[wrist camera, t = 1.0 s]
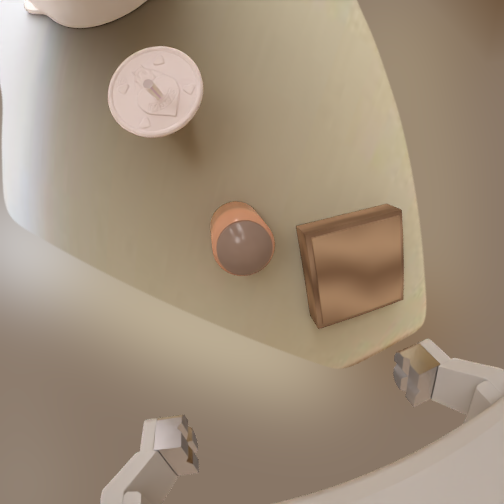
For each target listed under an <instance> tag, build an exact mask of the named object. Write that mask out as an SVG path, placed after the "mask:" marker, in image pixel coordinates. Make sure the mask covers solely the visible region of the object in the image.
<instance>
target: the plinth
mask: <svg viewBox="0 0 504 504" xmlns="http://www.w3.org/2000/svg"><path fill="white" fill-rule="evenodd" d="M296 229H297V235H298V240H299V246H300V252H301V258H302V265H303V271H304V277H305V284H306V290H307V297H308V303H309V310H310V316H311V317H312V319H313V321H314V322H315V324H316V325H317V327H318V329H320V328H323V327H326V326H329V325H332V324H335V323H338V322H341V321H344V320H347V319H350V318H353V317H356V316H359V315H362V314H365V313H368V312H371V311H373V310H376V309H379V308H382V307H384V306H387V305H390V304H393V303H395V302H398V301H400V300H403V282H404V260H403V227H402V210H401V209H398V208H396V207H393V206H391V205H388V204H384V205H380V206H376V207H372V208H368V209H364V210H359V211H355V212H351V213H347V214H343V215H339V216H335V217H331V218H327V219H323V220H318V221H314V222H310V223H306V224H302V225H298V226H296Z"/></svg>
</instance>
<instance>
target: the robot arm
mask: <svg viewBox="0 0 504 504" xmlns="http://www.w3.org/2000/svg"><path fill="white" fill-rule="evenodd" d="M146 1H147V0H25V3H24V8H25V9H26V10H27V11H28V12H29V13H31V14H44V15H47V16H48V17H50V18H51V19H52V20H54V21H55V22H57V23H58V24H61V25H63V26H67V27H72V28H87V27H93V26H98V25H102V24H105V23H108V22H111V21H114V20H116V19H118V18H120V17H122V16H124V15H126V14H128V13H130V12H131V11H133V10H135V9H136V8H138V7H139V6H140V5H142V4H143V3H144V2H146ZM394 361H395V362H396V363H397V364H396V366H395V368H394V372H393V375H394V380H395V382H396V385H397V386H398V388H399V389H400V390H402V391H405V392H406V398H407V399H408V401H409V402H410V403H411V405H412V406H413V407H415V406H417V405H420V404H422V403H424V402H426V401H428V400H430V399H432V400H433V401H435V402H437V403H440V404H442V405H445V406H447V407H449V408H451V409H454V410H456V411H459V412H461V413H463V414H466V415H467V416H466V418H465V421H464V423H463V425H461V426H460V427H458V428H456V429H455V430H453V431H451V432H450V433H448V434H446V435H445V436H443V437H441V438H440V439H438V440H436V441H434V442H432V443H431V444H429V445H427V446H425V447H423V448H422V449H419V450H417V451H416V452H414V453H412V454H410V455H408V456H406V457H403V458H401V459H400V460H397V461H395V462H393V463H391V464H389V465H386V466H384V467H382V468H380V469H377V470H375V471H372V472H370V473H368V474H365V475H363V476H360V477H357V478H355V479H352V480H350V481H347V482H344V483H341V484H338V485H336V486H333V487H330V488H327V489H324V490H321V491H318V492H314V493H311V494H307V495H304V496H301V497H297V498H293V499H289V500H285V501H281V502H277V503H273V504H504V370H503V369H501V368H497V367H493V366H488V365H483V364H479V363H475V362H470V361H465V360H462V359H457V358H453V359H451V358H450V357H449V356H447V354H445V353H444V352H443V351H442V350H441V349H440V348H439V347H438V346H437V345H436V344H435V343H434V342H433V341H431V340H430V339H425V340H423V341H421V342H419V343H417V344H414V345H412V346H410V347H408V348H405V349H403V350H401V351H398V352H396V354H395V357H394ZM197 451H198V443H197V439H196V435H195V433H194V431H193V429H192V428H191V427H189V426H188V420H187V418H186V417H185V415H177V416H169V417H162V418H155V419H146V420H145V422H144V425H143V432H142V439H141V447H140V452H136V453H135V455H134V456H133V457H132V458H131V459H130V460H129V461H128V462H127V464H126V465H125V466H124V467H123V468H122V469H121V470H120V471H119V472H118V474H117V475H116V476H115V477H114V478H113V479H112V480H111V481H110V483H108V485H107V486H106V487H105V488H104V489H103V490H102V495H101V500H100V504H162V503H163V501H164V499H165V498H166V496H167V495H168V493H169V491H170V490H171V488H172V486H173V485H174V483H175V481H176V480H177V478H178V477H177V476H181V475H189V474H195V473H199V461H198V458H197V456H196V455H195V454H196V452H197Z"/></svg>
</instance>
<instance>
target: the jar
mask: <svg viewBox="0 0 504 504" xmlns="http://www.w3.org/2000/svg"><path fill="white" fill-rule="evenodd" d="M210 232H211V240H212V249H213V255H214V258H215V260H216V262H217V263H218V265H219V266H220V267H221V268H222V269H223V270H225V271H226V272H228V273H230V274H233V275H238V276H247V275H251V274H254V273H257V272H259V271H260V270H262V269H263V268H264V267H265V266H266V265H267V264H268V263H269V261H270V260H271V258H272V256H273V253H274V248H275V242H274V237H273V234H272V232H271V230H270V229H269V227H268V226H267V225H266V223H265V222H264V221H263V220H262V218H261V217H260V216H259V215H258V213H257V212H256V211H255V210H254V208H252V207H251V206H250V205H248V204H246V203H243V202H238V201H234V202H229V203H226V204H224V205H222V206H221V207H219V208H218V209H217V210H216V211H215V213H214V214H213V216H212V219H211V222H210Z"/></svg>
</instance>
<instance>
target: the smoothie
mask: <svg viewBox="0 0 504 504" xmlns="http://www.w3.org/2000/svg"><path fill="white" fill-rule="evenodd" d="M202 97H203V81H202V77H201V73H200V71H199V69H198V67H197V65H196V64H195V62H194V61H193V60H192V59H191V58H190V57H189V56H188V55H186V54H185V53H183V52H182V51H180V50H177V49H175V48H171V47H166V46H154V47H148V48H145V49H142V50H139V51H137V52H135V53H134V54H132V55H130V56H129V57H128V58H126V59H125V60H124V61H123V62H122V63H121V64H120V65H119V67H118V68H117V69H116V71H115V72H114V74H113V76H112V78H111V81H110V84H109V88H108V104H109V108H110V111H111V113H112V115H113V117H114V119H115V120H116V121H117V123H118V124H119V125H120V126H122V127H123V128H124V129H125V130H127V131H129V132H131V133H133V134H135V135H137V136H142V137H147V138H154V137H163V136H166V135H169V134H172V133H174V132H176V131H178V130H179V129H181V128H183V127H184V126H185V125H186V124H187V123H188V122H189V121H190V120H191V119H192V118H193V117H194V115H195V114H196V112H197V110H198V109H199V107H200V104H201V100H202Z"/></svg>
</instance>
